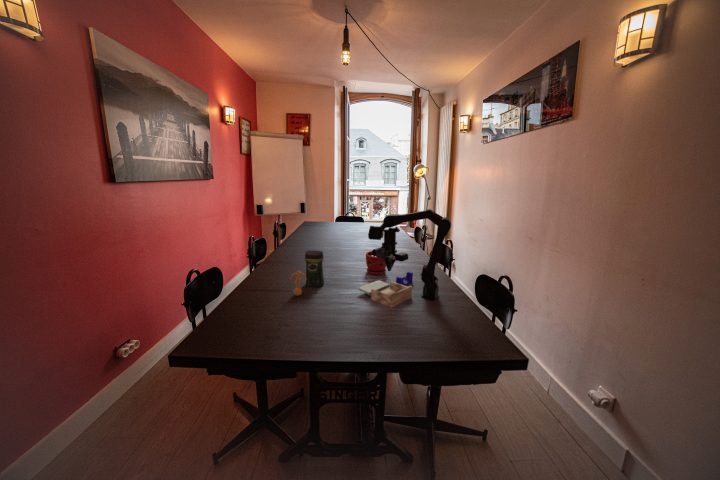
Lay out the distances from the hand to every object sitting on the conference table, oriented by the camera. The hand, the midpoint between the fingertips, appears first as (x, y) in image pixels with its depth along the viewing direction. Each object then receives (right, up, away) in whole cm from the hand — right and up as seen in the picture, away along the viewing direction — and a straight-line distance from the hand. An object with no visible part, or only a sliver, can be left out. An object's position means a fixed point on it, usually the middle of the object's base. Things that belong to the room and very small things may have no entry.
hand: (389, 271), depth 148 cm
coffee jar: (-39, -8, +10) cm, 41 cm away
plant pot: (-5, -4, +31) cm, 32 cm away
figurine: (-45, -11, -4) cm, 46 cm away
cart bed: (0, -12, -6) cm, 14 cm away
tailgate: (-5, -9, -1) cm, 11 cm away
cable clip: (+9, -9, +12) cm, 18 cm away
